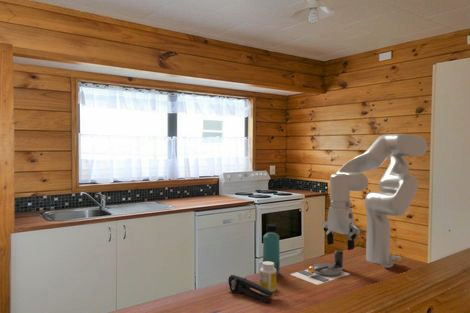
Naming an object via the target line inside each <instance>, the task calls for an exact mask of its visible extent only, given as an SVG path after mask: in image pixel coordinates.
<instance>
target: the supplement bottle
mask: <svg viewBox="0 0 470 313" xmlns="http://www.w3.org/2000/svg"><path fill="white" fill-rule="evenodd" d="M259 285H260V286H262V287H264V288H266V289H268V290H269V291H271V292H272V293H273V295H271V296H274V295H276V291H277V275H276V269H275V268H274V263H273V262H270V261H265V262H263V261H262V265H261V267H260V269H259ZM259 293H260V294H262V295H264V296H265V297H268V296H269V295H266V294H264V293H262V292H260V291H259ZM271 296H269V297H271Z"/></svg>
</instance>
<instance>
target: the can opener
mask: <svg viewBox="0 0 470 313" xmlns="http://www.w3.org/2000/svg"><path fill="white" fill-rule="evenodd" d="M227 280H228V286H229V291H230V292H232V293H237V294H238V293H245V294H247V295H249V296H251V297H253V298H254V299H256V300H258V299H259V301H260V300H262V301H261V302H263V301H265V302H264V303H266V302H270V303H272V300H271V299H270V298H269V297H271V295H272V296H274V295H273V293H274V292H271V291H269V290H268V289H266V288H264V287H262V286H260V284H258V283H256V282H255V281H251V280H249V279H247V277H245V276H243V277H241V276H239V275H235V274H231V275H230V276H228V279H227ZM260 292H262V293H264V294H266V295H269V297H268V296H266V295H263V294H261V293H260Z"/></svg>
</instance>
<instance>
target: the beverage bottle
mask: <svg viewBox="0 0 470 313" xmlns="http://www.w3.org/2000/svg"><path fill="white" fill-rule="evenodd" d="M265 227H266V229H265V231H267V232H266V233H265V234H264V235H263V237H262V238H263V241H262V242H263V245H262V263H263V262H265V261H270V262H273V263H274V268H275V269H276V276H279V274H280V268H281V267H280V260H281V258H280V235H279V234H278V233H276V232H277V231H278V226H277V224H270V223H269V224H266V226H265Z"/></svg>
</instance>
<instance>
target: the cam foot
mask: <svg viewBox="0 0 470 313" xmlns="http://www.w3.org/2000/svg"><path fill="white" fill-rule="evenodd" d="M343 265H344V251H343V250H341V249H340V250H338V249H337V250H334V262H333V263H329V262H315V263H313V265H312V266H311V265H310V266H309V267H308V268H307V269H308V272H309V273H311V274H313V273H314V272H315V273H317V274H320V275H324V276H338V275H341V274H342V271H343V267H344V266H343Z"/></svg>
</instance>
